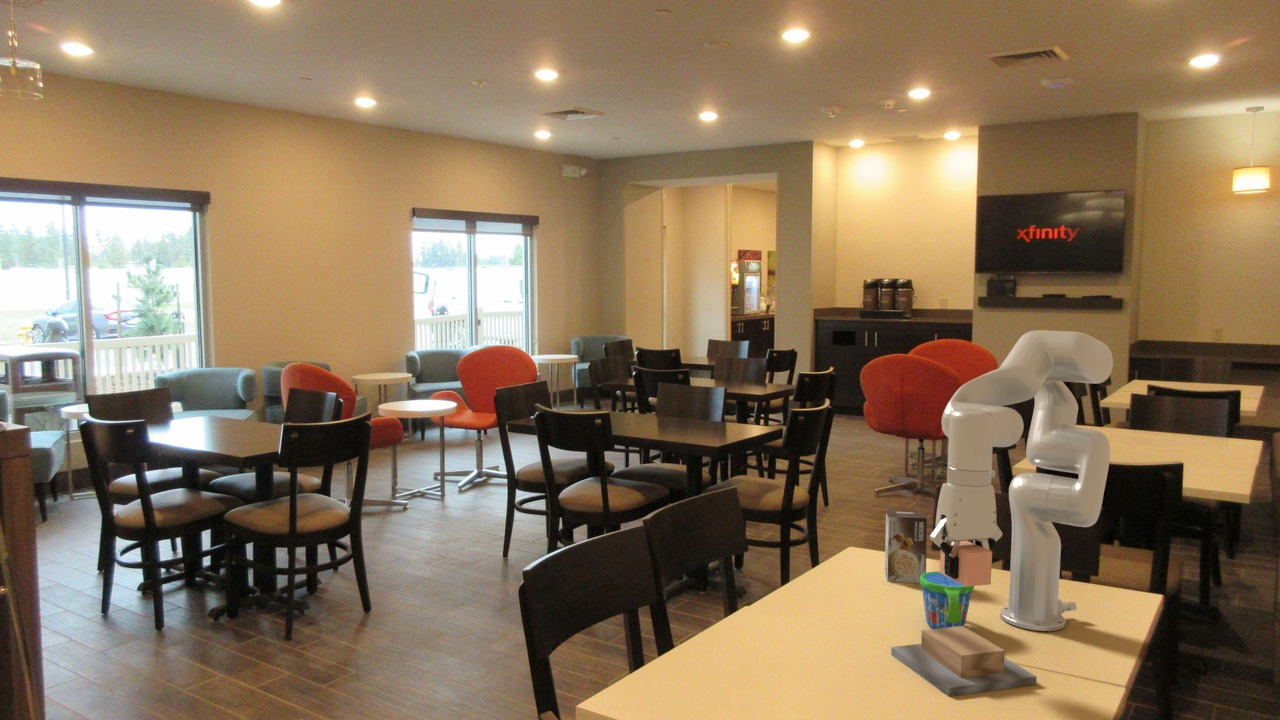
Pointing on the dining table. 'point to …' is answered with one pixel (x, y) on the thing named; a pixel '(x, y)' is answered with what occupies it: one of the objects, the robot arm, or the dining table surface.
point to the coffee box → (905, 546)
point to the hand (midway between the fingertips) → (964, 574)
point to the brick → (971, 564)
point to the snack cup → (944, 600)
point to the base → (957, 682)
